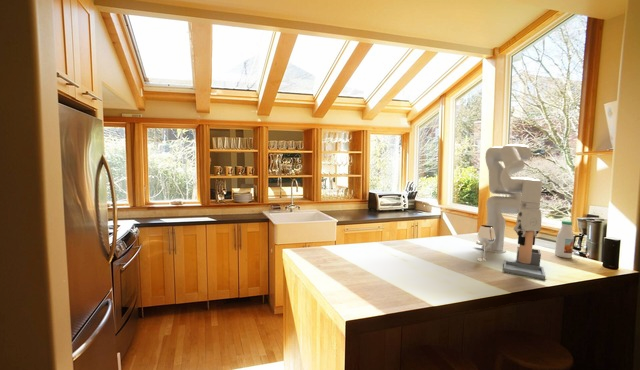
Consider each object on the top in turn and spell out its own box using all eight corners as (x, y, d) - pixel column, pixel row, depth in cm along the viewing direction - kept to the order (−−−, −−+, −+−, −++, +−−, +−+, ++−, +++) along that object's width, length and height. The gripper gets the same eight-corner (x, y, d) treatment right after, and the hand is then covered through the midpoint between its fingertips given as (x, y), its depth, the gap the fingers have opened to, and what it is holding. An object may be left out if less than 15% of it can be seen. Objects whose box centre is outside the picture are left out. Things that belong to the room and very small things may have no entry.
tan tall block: (518, 262, 151) (521, 230, 149) (518, 259, 155) (521, 228, 154) (530, 264, 148) (534, 232, 147) (530, 261, 152) (533, 230, 151)
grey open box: (516, 265, 161) (517, 250, 161) (516, 260, 170) (517, 246, 169) (539, 269, 156) (540, 254, 156) (538, 264, 165) (539, 249, 164)
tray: (503, 272, 150) (503, 267, 150) (504, 264, 162) (504, 260, 162) (545, 280, 142) (545, 275, 142) (542, 271, 154) (543, 267, 154)
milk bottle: (557, 257, 180) (560, 221, 178) (552, 253, 187) (556, 219, 185) (573, 259, 177) (578, 223, 175) (569, 255, 184) (573, 220, 182)
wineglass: (492, 259, 169) (495, 226, 167) (493, 264, 161) (496, 228, 160) (475, 257, 172) (478, 223, 171) (475, 261, 165) (478, 226, 163)
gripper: (521, 207, 144) (517, 247, 145) (552, 207, 148) (547, 246, 149) (508, 204, 151) (504, 242, 152) (537, 204, 155) (533, 242, 157)
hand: (526, 244), depth 151 cm, fingers closed on tan tall block, 5 cm apart
